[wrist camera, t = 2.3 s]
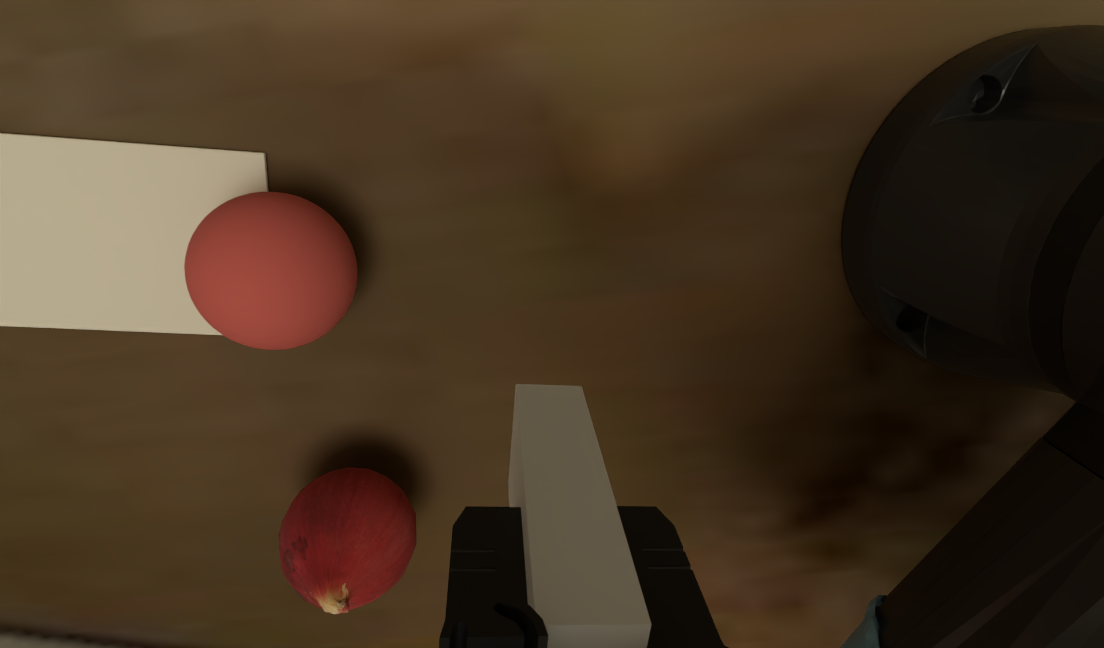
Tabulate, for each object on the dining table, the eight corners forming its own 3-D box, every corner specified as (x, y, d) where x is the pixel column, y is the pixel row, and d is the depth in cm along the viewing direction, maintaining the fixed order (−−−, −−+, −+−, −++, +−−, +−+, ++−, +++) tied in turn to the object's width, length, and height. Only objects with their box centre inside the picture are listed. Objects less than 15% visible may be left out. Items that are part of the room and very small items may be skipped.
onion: (337, 543, 32) (292, 683, 25) (283, 458, 30) (216, 583, 23) (441, 508, 32) (426, 638, 25) (394, 419, 30) (363, 533, 22)
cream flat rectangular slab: (265, 152, 25) (264, 153, 25) (280, 335, 28) (279, 337, 27) (-96, 125, 23) (-101, 125, 23) (-39, 322, 26) (-43, 324, 26)
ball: (368, 185, 26) (335, 215, 20) (371, 319, 28) (341, 380, 22) (216, 174, 25) (137, 203, 19) (231, 312, 27) (165, 374, 22)
